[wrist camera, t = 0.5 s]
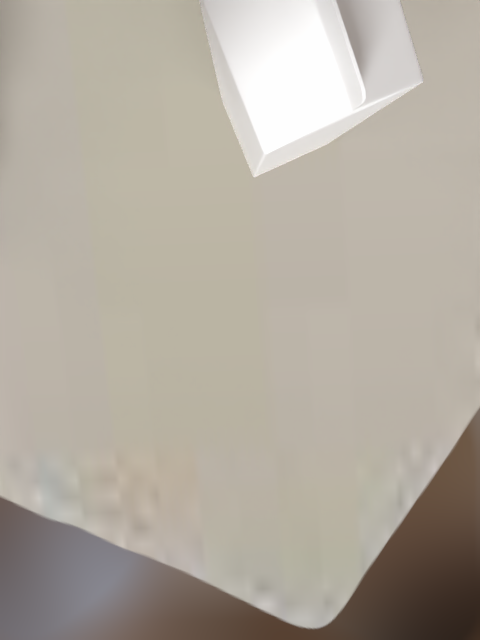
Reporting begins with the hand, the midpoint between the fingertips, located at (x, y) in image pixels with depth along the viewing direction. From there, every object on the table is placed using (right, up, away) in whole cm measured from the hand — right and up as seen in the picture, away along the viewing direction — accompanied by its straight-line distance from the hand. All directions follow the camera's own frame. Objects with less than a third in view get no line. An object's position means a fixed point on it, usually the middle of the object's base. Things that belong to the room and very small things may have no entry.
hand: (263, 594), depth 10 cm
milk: (+2, +21, +23) cm, 31 cm away
